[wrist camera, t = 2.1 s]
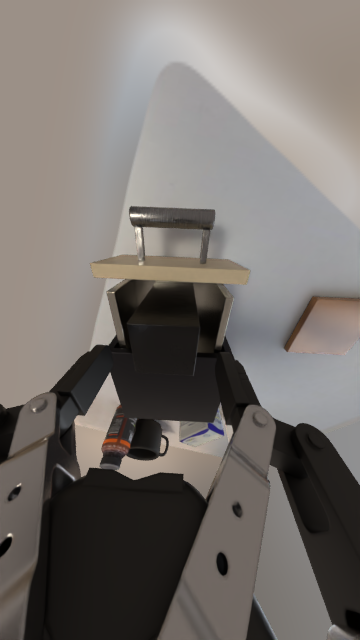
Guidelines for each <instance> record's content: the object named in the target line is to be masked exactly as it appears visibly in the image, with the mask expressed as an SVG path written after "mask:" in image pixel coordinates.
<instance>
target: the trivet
mask: <svg viewBox="0 0 360 640" xmlns="http://www.w3.org/2000/svg"><path fill="white" fill-rule="evenodd" d="M359 338H360V299H354V298H333V297H312V299H311V300H310V302H309V304H308V306H307V308H306V309H305V311H304V313H303V315H302V317H301V318H300V320H299V322H298V324H297V326H296V328H295V329H294V331H293V333H292V335H291V337H290V338H289V340H288V342H287V344H286V346H285V347H284V349H285V350H286V351H287V352H295V353H314V354H333V355H345V354H346V353H347V352H348V351H349V350H350V348H351V347H352V346H353V345H354V344H355V343H356V342H357V340H358V339H359Z"/></svg>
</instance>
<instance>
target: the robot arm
mask: <svg viewBox="0 0 360 640" xmlns="http://www.w3.org/2000/svg"><path fill="white" fill-rule="evenodd" d="M112 367H113V358H112V354H111V350H110V347H109V346H108V345H96V346H95V347H94V348H93V349H92V350H91V351H90V352H87V353H85V354H84V355H83V356H81V357H80V358H79V359H78V360H77V361H76V363H75V364H74V365H73V366H72V367H71V368H70V370H68V371H67V372H66V374H65V375H64V376H63V377H62V378H61V379H60V380H59V381H58V382H57V384H56V385H55V386H54V387H53V388H52V389H51V390H50V391H49V392H47V393H43V394H40V395H38V396H36V397H34V398H33V399H31V400H30V401H29V402H27V403H26V404H25V405H21V406H16V407H12V408H8V409H5V408H4V407H3V406H2V405H1V404H0V640H277V638H276V636H275V634H274V632H273V630H272V628H271V626H270V624H269V623H268V620H267V618H266V616H265V615H264V613H263V611H262V609H261V607H260V605H259V603H258V601H257V599H256V597H255V595H254V587H255V581H256V575H257V569H258V562H259V556H260V549H261V544H262V537H263V531H264V525H265V519H266V513H267V507H268V500H269V494H270V482H269V480H268V470H269V465H271V466H274V467H276V468H277V470H278V473H279V476H280V478H281V481H282V484H283V487H284V490H285V492H286V495H287V498H288V501H289V503H290V506H291V509H292V512H293V515H294V518H295V521H296V524H297V526H298V529H299V532H300V535H301V537H302V540H303V543H304V546H305V549H306V552H307V555H308V557H309V560H310V563H311V566H312V569H313V572H314V574H315V577H316V580H317V583H318V586H319V588H320V591H321V594H322V597H323V600H324V602H325V605H326V608H327V611H328V614H329V617H330V620H331V622H332V626H331V628H330V629H329V631H328V635H327V640H360V485H359V484H358V482H357V481H356V479H355V478H354V476H353V475H352V473H351V472H350V470H349V469H348V467H347V466H346V464H345V463H344V461H343V460H342V458H341V457H340V455H339V454H338V452H337V451H336V449H335V448H334V446H333V445H332V443H331V442H330V440H329V439H328V438H327V437H326V436H325V435H324V434H323V433H322V432H321V431H319V430H318V429H317V428H315V427H313V426H311V425H309V424H305V423H300V424H298V425H297V426H296V427H294V426H291V425H289V424H286V423H284V422H281V421H278V420H276V419H274V418H273V417H272V416H271V415H270V414H269V412H268V411H266V410H265V409H264V408H262V407H261V405H260V403H259V401H258V399H257V396H256V394H255V392H254V390H253V387H252V385H251V383H250V381H249V379H248V376H247V375H246V372H245V370H244V367H243V366H242V365H241V364H240V363H239V361H238V360H233V358H232V356H231V354H230V353H229V352H219V353H218V356H217V360H216V364H215V377H216V381H217V386H218V391H219V396H220V400H221V405H222V410H223V414H224V419H225V424H226V425H232V429H233V434H232V437H231V439H230V442H229V444H228V446H227V449H226V451H225V454H224V456H223V459H222V461H221V464H220V466H219V468H218V471H217V473H216V475H215V478H214V480H213V482H212V485H211V487H210V489H209V492H208V494H207V497H206V499H204V497H203V496H202V495H201V494H200V492H199V491H198V490H197V489H196V488H195V487H193V486H192V485H191V484H189V483H188V482H186V481H184V480H183V474H174V473H157V474H154V475H150V476H148V477H144V478H141V479H138V480H132V479H130V478H128V477H126V476H124V475H122V474H120V473H119V472H117V471H115V470H113V469H99V468H89V470H88V473H87V475H86V476H83V477H81V474H80V468H79V464H78V462H77V457H76V441H75V423H74V419H75V418H76V416H77V415H84V416H85V414H86V413H87V411H88V409H89V407H90V406H91V404H92V402H93V401H94V399H95V397H96V395H97V394H98V392H99V390H100V388H101V387H102V385H103V383H104V381H105V380H106V378H107V376H108V374H109V373H110V371H111V369H112Z"/></svg>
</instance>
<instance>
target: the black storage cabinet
mask: <svg viewBox="0 0 360 640" xmlns="http://www.w3.org/2000/svg"><path fill="white" fill-rule="evenodd" d="M109 347H110V350H111V354H112V358H113V367H112V369H111V371H110V373H111V376H112V379H113V382H114V385H115V388H116V391H117V394H118V397H119V400H120V403H121V406H122V409H123V412H124V416H125V418H139V419H156V420H173V421H190V422H206V423H214V420H215V417H216V414H217V411H218V408H219V405H220V402H221V400H220V396H219V391H218V386H217V381H216V377H215V364H216V360H217V356H218V353H201V352H197V355H196V363H195V370H194V376H190V375H172V374H154V373H136V371H135V365H134V360H133V355H132V349H126V348H120V346H119V342H118V338H117V335H116V336H115V338H114V339H113V340H112V342H111V343H110V344H109ZM221 352H229V353H230V354H231V356H232V358H233V360H235V359H234V356H233V354H232V352H231V349H230V347H229V344H228V342H227V339H226V337H225V336H224V340H223V344H222V348H221Z"/></svg>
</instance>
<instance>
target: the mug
mask: <svg viewBox="0 0 360 640" xmlns="http://www.w3.org/2000/svg"><path fill="white" fill-rule="evenodd" d="M161 437H162V438H164V439H165V440H166V449H165V452H164V453H160V445H161ZM168 445H169V441H168V438H167V437H166V436H164V435H162V428H161V425H160V424H159V423H158V422H156V421H155V420H153V419H139V420H137V421H136V425H135V429H134V433H133V437H132V441H131V444H130V448H129V451H128V453H127V456H128V457H130V458H133V459H137V460H153V459H156V458H158V456H164V455H165V454H166V452H167V450H168Z"/></svg>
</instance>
